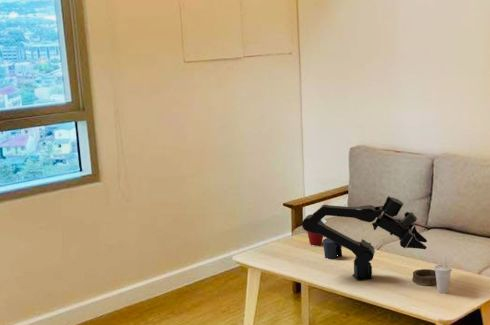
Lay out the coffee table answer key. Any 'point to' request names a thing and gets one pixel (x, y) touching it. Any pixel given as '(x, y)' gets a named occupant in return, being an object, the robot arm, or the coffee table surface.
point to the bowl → (424, 277)
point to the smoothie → (442, 277)
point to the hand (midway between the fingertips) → (426, 244)
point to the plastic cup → (316, 237)
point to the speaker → (331, 249)
